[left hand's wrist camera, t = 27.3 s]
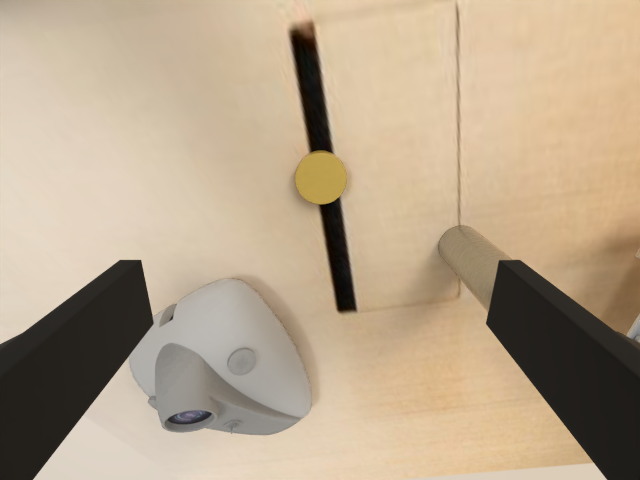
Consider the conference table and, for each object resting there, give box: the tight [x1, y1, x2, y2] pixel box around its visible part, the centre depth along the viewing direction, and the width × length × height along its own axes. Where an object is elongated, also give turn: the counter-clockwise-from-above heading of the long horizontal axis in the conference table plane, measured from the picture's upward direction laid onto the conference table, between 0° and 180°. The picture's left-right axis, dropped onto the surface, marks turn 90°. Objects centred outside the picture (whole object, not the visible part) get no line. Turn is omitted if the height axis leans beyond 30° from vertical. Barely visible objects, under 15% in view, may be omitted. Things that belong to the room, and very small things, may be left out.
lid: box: [295, 151, 347, 204], centre depth 36 cm, size 5×5×2 cm
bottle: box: [439, 226, 512, 312], centre depth 33 cm, size 5×5×16 cm
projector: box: [129, 279, 312, 435], centre depth 38 cm, size 22×23×15 cm
